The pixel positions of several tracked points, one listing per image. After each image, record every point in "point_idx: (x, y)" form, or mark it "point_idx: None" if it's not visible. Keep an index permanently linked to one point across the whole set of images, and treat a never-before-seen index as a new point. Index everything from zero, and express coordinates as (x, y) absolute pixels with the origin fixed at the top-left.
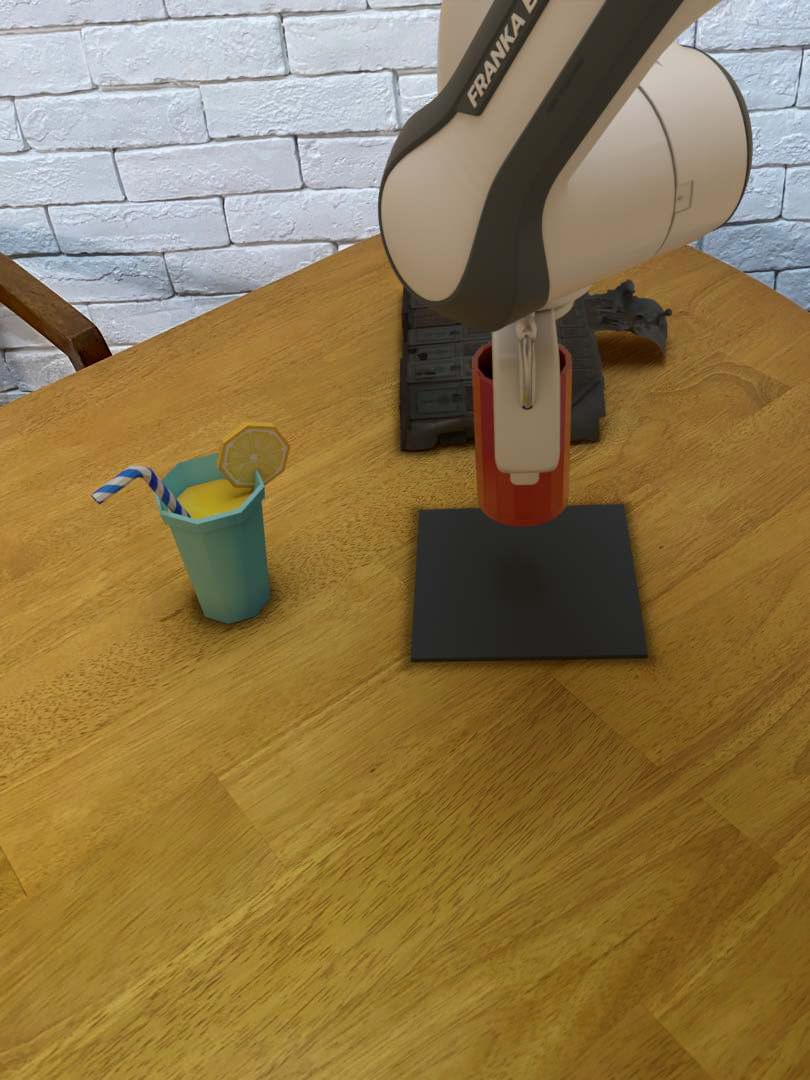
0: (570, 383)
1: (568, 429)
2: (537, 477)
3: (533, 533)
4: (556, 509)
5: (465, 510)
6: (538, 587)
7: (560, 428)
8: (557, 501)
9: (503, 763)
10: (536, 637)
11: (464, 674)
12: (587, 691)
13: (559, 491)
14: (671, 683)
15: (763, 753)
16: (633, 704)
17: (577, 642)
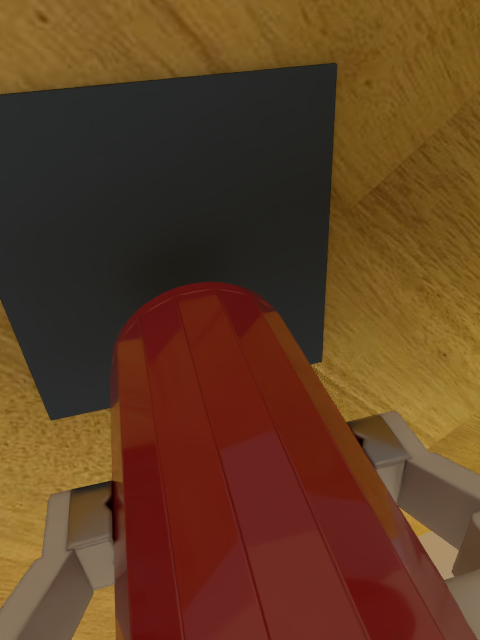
0: (362, 592)
1: (292, 423)
2: (401, 419)
3: (68, 267)
4: (266, 305)
5: (35, 368)
6: (197, 244)
7: (356, 462)
8: (271, 314)
9: (465, 245)
10: (295, 235)
11: (342, 304)
12: (384, 157)
13: (274, 325)
14: (387, 22)
15: None
16: (415, 89)
17: (306, 178)
